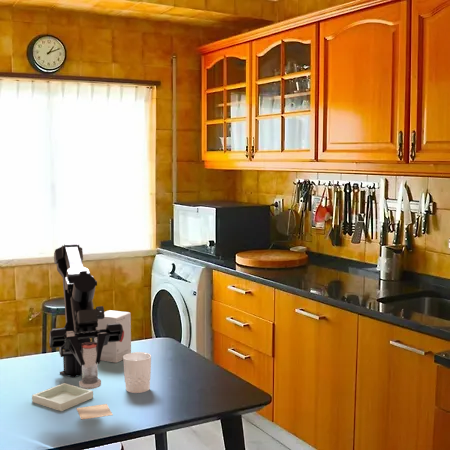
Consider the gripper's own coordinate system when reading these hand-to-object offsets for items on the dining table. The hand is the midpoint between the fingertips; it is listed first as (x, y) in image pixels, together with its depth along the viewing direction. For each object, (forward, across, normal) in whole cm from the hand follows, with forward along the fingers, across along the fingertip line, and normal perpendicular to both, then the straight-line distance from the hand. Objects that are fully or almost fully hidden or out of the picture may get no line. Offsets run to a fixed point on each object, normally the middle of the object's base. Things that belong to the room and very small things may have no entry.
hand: (90, 364), depth 169 cm
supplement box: (-22, +14, +42) cm, 49 cm away
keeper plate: (+9, +1, +10) cm, 13 cm away
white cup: (+1, +15, +19) cm, 24 cm away
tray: (+2, -6, +18) cm, 19 cm away
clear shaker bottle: (+3, 0, +5) cm, 6 cm away
